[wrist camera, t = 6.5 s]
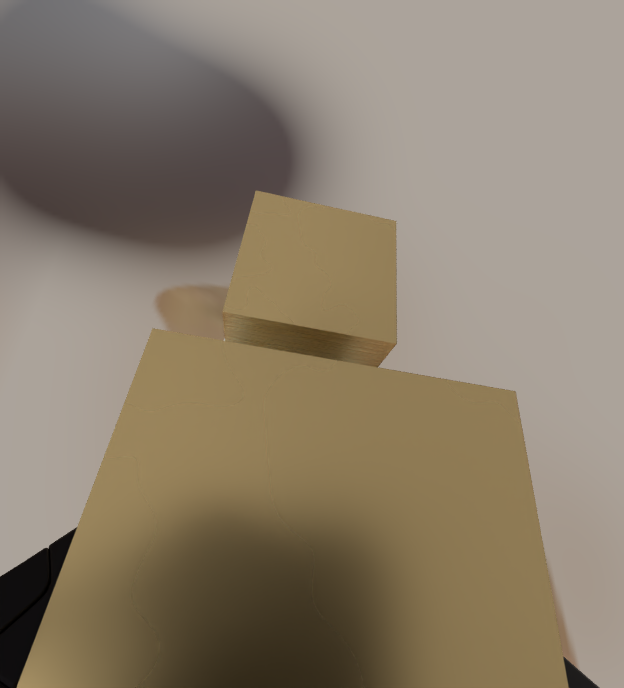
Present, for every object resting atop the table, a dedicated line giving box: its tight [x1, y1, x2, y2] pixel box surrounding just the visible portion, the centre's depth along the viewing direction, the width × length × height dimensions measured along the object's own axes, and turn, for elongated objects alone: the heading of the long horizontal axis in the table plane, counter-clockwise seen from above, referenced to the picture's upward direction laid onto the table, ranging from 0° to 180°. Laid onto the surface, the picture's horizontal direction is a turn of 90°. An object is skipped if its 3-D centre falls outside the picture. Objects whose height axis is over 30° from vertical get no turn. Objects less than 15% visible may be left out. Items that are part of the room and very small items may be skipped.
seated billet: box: [223, 191, 397, 367], centre depth 15 cm, size 4×4×12 cm
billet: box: [17, 329, 569, 688], centre depth 8 cm, size 4×4×12 cm
